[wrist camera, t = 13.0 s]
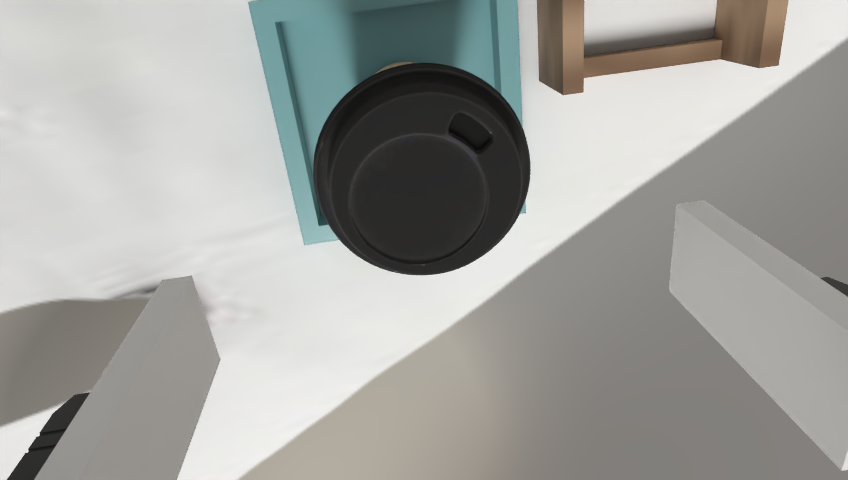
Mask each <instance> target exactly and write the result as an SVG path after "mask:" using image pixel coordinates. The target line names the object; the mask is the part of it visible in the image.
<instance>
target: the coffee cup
mask: <svg viewBox="0 0 848 480" xmlns="http://www.w3.org/2000/svg"><path fill="white" fill-rule="evenodd" d="M313 178H314V186H315V191H316V195H317V199H318V202H319V205H320V208H321V210H322V213H323V215H324V217H325V219H326V221H327V223H328V225H329V226H330V228H331V230H332V231H333V232H334V234H335V235H336V236H337V238H338V239H339V240H340V241H341V242H342V243H343V244H344V245H345V246H346V247H347V248H348V249H349V250H350V251H352V252H353V253H354V254H355V255H357V256H358V257H360V258H361V259H363V260H365V261H366V262H368V263H370V264H372V265H374V266H377V267H379V268H382V269H385V270H388V271H391V272H396V273H401V274H407V275H433V274H440V273H445V272H449V271H453V270H456V269H459V268H461V267H463V266H466V265H468V264H470V263H472V262H474V261H475V260H477V259H478V258H480V257H481V256H483V255H484V254H486V253H487V252H488V251H490V250H491V249H492V248H493V247H494V246H496V245H497V244H498V243H499V242H500V241H501V240H502V239H503V238H504V236H505V235H506V234H507V233H508V232H509V230H510V229H511V227H512V226H513V224H514V223H515V221H516V219H517V218H518V216H519V214H520V212H521V210H522V208H523V205H524V202H525V199H526V196H527V192H528V187H529V182H530V156H529V150H528V145H527V141H526V137H525V134H524V130H523V128H522V126H521V123H520V121H519V119H518V117H517V115H516V113H515V112H514V110H513V109H512V107H511V106H510V104H509V103H508V102H507V101H506V99H505V98H504V97H503V96H502V95H501V94H500V93H499V92H498V91H497V90H496V89H495V88H494V87H492V86H491V85H490V84H489V83H487V82H486V81H484V80H483V79H481V78H479V77H478V76H476V75H474V74H472V73H470V72H467V71H465V70H463V69H460V68H457V67H453V66H449V65H444V64H437V63H414V62H396V63H392V64H389V65H387V66H385V67H383V68H382V69H380V70H379V71H377V72H376V73H375V74H373V75H372V76H370V77H369V78H367V79H365V80H363V81H362V82H360V83H359V84H358V85H356V86H355V87H354V88H352V89H351V90H350V91H349V92H348V93H347V94H346V95H345V96H344V97H343V98H342V99H341V100H340V101H339V102H338V103H337V105H336V106H335V107H334V108H333V110H332V111H331V113H330V114H329V116H328V117H327V119H326V121H325V123H324V125H323V127H322V130H321V132H320V134H319V137H318V141H317V144H316V148H315V153H314V162H313Z"/></svg>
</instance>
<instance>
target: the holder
mask: <svg viewBox="0 0 848 480" xmlns="http://www.w3.org/2000/svg"><path fill="white" fill-rule="evenodd" d="M787 6H788V0H718V1H717V11H716V21H715V31H714V38H713V39H706V40H699V41H691V42H684V43H676V44H669V45H662V46H654V47H647V48H640V49H632V50H625V51H617V52H610V53H603V54H595V55H588V56H584V0H537V14H538V52H539V81H540V82H542V83H544V84H545V85H547V86H549V87H551V88H552V89H554V90H556V91H557V92H559V93H561V94H562V95H568V94H575V93H582V92H583V85H584V78H587V77H594V76H601V75H609V74H616V73H623V72H630V71H638V70H645V69H652V68H660V67H667V66H674V65H681V64H689V63H696V62H703V61H711V60H718V59H722V60H726V61H730V62H735V63H739V64H743V65H748V66H752V67H756V68H763V67H771V66H778V65H779V59H780V52H781V46H782V39H783V33H784V26H785V19H786V13H787Z"/></svg>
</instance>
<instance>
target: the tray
mask: <svg viewBox="0 0 848 480" xmlns="http://www.w3.org/2000/svg"><path fill="white" fill-rule="evenodd" d="M248 4H249V9H250V13H251V17H252V22H253V26H254V30H255V35H256V39H257V43H258V47H259V52H260V56H261V60H262V65H263V69H264V73H265V78H266V82H267V86H268V91H269V95H270V99H271V104H272V108H273V112H274V117H275V121H276V125H277V130H278V134H279V138H280V143H281V147H282V151H283V156H284V160H285V164H286V169H287V173H288V177H289V182H290V186H291V190H292V195H293V199H294V203H295V208H296V212H297V216H298V221H299V225H300V229H301V233H302V238H303V242H304V245H308V244H315V243H322V242H329V241H336V240H339V239H338V238H337V236H336V235H335V234H334V232H333V231H332V230H331V228H330V226H329V225H328V223H327V221H326V219H325V217H324V215H323V213H322V210H321V208H320V205H319V202H318V199H317V195H316V191H315V186H314V178H313V162H314V153H315V148H316V144H317V141H318V137H319V134H320V132H321V130H322V127H323V125H324V123H325V121H326V119H327V117H328V116H329V114H330V113H331V111H332V110H333V108H334V107H335V106H336V105H337V103H338V102H339V101H340V100H341V99H342V98H343V97H344V96H345V95H346V94H347V93H348V92H349V91H350V90H351V89H352V88H354V87H355V86H356V85H358V84H359V83H360V82H362V81H363V80H365V79H367V78H369V77H370V76H372V75H373V74H375V73H376V72H377V71H379V70H380V69H382V68H383V67H385V66H387V65H389V64H392V63H396V62H414V63H437V64H444V65H449V66H453V67H457V68H460V69H463V70H465V71H467V72H470V73H472V74H474V75H476V76H478V77H479V78H481V79H483V80H484V81H486V82H487V83H489V84H490V85H491V86H492V87H494V88H495V89H496V90H497V91H498V92H499V93H500V94H501V95H502V96H503V97H504V98H505V99H506V101H507V102H508V103H509V104H510V106H511V107H512V109H513V110H514V112H515V113H516V115H517V117H518V119H519V121H520V123H521V126H522V106H521V81H520V56H519V32H518V7H517V0H255V1H250V2H248ZM521 213H526V205H525V202H524V205H523V208H522V210H521V212H520V214H521Z"/></svg>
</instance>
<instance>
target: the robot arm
mask: <svg viewBox="0 0 848 480" xmlns="http://www.w3.org/2000/svg"><path fill="white" fill-rule="evenodd" d="M671 262H672V263H671V272H670V284H669V291H670V292H671V293H672V294H673V295H674V296H675V297H676V299H677V300H678V301H679V302H680V303H681V304H682V305H683V306H684V307H685V308H686V309H687V310H688V311H689V312H690V313H691V314H692V315H693V316H694V317H695V318H696V319H697V320H698V322H700V323H701V324H702V326H703V327H704V328H705V329H706V330H707V331H708V332H709V333H710V334H711V335H712V336H713V337H714V338H715V339H716V340H717V341H718V342H719V343H720V344H721V345H722V347H723V348H724V349H725V350H726V351H727V352H728V353H729V354H730V355H731V356H732V357H733V358H734V359H735V360H736V361H737V362H738V363H739V364H740V365H741V366H742V367H743V368H744V369H745V371H747V373H748V374H749V375H750V376H751V377H752V378H753V379H754V380H755V381H756V382H757V383H758V384H759V385H760V386H761V387H762V388H763V389H764V390H765V391H766V392H767V393H768V394H769V395H770V397H771V398H772V399H773V400H774V401H775V402H776V403H777V404H778V405H779V406H780V407H781V408H782V409H783V410H784V411H785V412H786V413H787V414H788V415H789V416H790V417H791V418H792V419H793V420H794V422H795V423H796V424H797V425H798V426H799V427H800V428H801V429H802V430H803V431H804V432H805V433H806V434H807V435H808V436H809V437H810V438H811V439H812V440H813V441H814V442H815V443H816V445H817V446H818V447H819V448H820V449H821V450H822V451H823V452H824V453H825V454H826V455H827V456H828V457H829V458H830V459H831V460H832V461H833V462H834V463H835V464H836V465H837V466H838V467H839V468H840V469H841V470H848V285H847V284H844V283H842V282H839V281H836V280H834V279H831V278H829V277H824V278H819V277H817V276H816V275H814V274H813V273H811V272H810V271H808V270H807V269H806V268H804V267H803V266H801V265H800V264H798V263H797V262H795V261H794V260H792V259H791V258H789V257H787V256H786V255H785V254H783V253H782V252H780V251H779V250H777V249H776V248H774V247H773V246H771V245H770V244H768V243H767V242H765V241H764V240H762V239H761V238H759V237H758V236H756V235H755V234H753V233H752V232H750V231H749V230H747V229H746V228H744V227H743V226H741V225H740V224H739V223H737V222H735V221H734V220H732V219H731V218H730V217H728V216H727V215H725V214H724V213H722V212H721V211H719V210H718V209H716V208H715V207H713V206H712V205H710V204H709V203H707V202H706V201H704V200H702V201H695V202H688V203H682V204H677V205H676V217H675V229H674V239H673V250H672V261H671ZM219 362H220V357H219V354H218V351H217V348H216V345H215V342H214V339H213V336H212V334H211V331H210V328H209V325H208V322H207V319H206V316H205V313H204V310H203V307H202V304H201V301H200V298H199V295H198V292H197V290H196V287H195V284H194V281H193V278H192V276H187V277H180V278H173V279H167V280H162V282H161V283H160V285H159V286H158V288H157V289H156V291H155V293H154V294H153V296H152V297H151V299H150V300H149V302H148V303H147V305H146V307H145V308H144V310H143V311H142V313H141V315H140V316H139V318H138V319H137V321H136V322H135V324H134V325H133V327H132V329H131V330H130V331H129V333H128V335H127V336H126V338H125V340H124V341H123V342H122V344H121V345H120V347H119V349H118V350H117V352H116V353H115V355H114V356H113V358H112V359H111V361H110V363H109V364H108V366H107V367H106V369H105V370H104V372H103V373H102V375H101V377H100V378H99V380H98V381H97V383H96V384H95V386H94V387H93V389H92V391H91V392H90V393H83V394H77V395H74V396H73V397H72V398H70V399H69V400H68V401H67V402H66V403H65V404H63V405H62V406H61V407H60V408H59V409H58V410H56V411H55V412H54V413H53V414H52V416H51V417H50V419H49V420H48V422H47V423H46V424H45V426H44V427H43V429H42V430H41V432H40V436H39V437H36V439H35V440H34V442H33V443H32V445H31V446H30V447H29V449H28V450H29V452H28V453H25V455H24V456H23V457H22V459H21V460H20V462H19V463H18V465H17V466H16V467H15V469H14V470H13V472H12V473H11V475H10V476H9V478H8V479H7V480H177V478H178V475H179V472H180V469H181V467H182V464H183V461H184V458H185V456H186V453H187V450H188V447H189V445H190V442H191V439H192V436H193V434H194V431H195V428H196V425H197V423H198V420H199V417H200V414H201V412H202V409H203V406H204V403H205V401H206V398H207V395H208V392H209V389H210V387H211V384H212V381H213V378H214V376H215V373H216V370H217V367H218V365H219Z"/></svg>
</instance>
